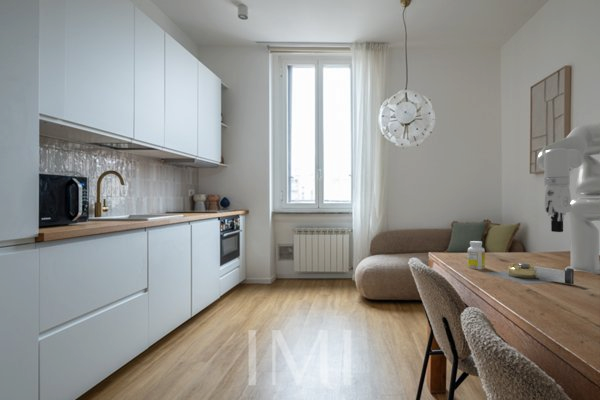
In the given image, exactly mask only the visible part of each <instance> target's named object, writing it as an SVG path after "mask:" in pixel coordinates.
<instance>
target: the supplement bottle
mask: <svg viewBox="0 0 600 400" xmlns="http://www.w3.org/2000/svg"><path fill="white" fill-rule="evenodd" d="M469 245H470V247H468V248H467V269H472V270H485V269H486V259H485V258H486V256H485V255H486V250H485V248H484V247H482V246H483V241H479V240H477V241H476V240H470V241H469Z"/></svg>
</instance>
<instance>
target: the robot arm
mask: <svg viewBox="0 0 600 400" xmlns="http://www.w3.org/2000/svg"><path fill="white" fill-rule="evenodd" d="M593 155H596V156H597V155H600V122H596V123H590V124H584V125H582V124H581V125H579V126H576V127H574V128H573V129H572V130H571V131H570V132H569V134H568V135H566V137H564V138H562V139H560V140H557V141H555V142H552V143H550V144H547V145H545V146H544V147H543V148H542V149H541V151H540V152H538V155H537V158H536V165H537V166H538V168H539V170H542V171H544V173H543V174H544V187H545V192H544V211H545V212H546V213H547V215H548V217H549V218H550V222H551V223H550V224H551V225H550V227H551V228H550V231H551V232H554V233H562V232H564V220H565V216H566V214H567V213H568V216H569V223H570V225H569V227H570V265H568V266H566V267H565V268H571V269H574V271H578V272H582V273H588V274H593V275H600V231H599V229H598V227H597V226H596V225H595V224H594V223H593V222H592V221H600V161H599V160H598V159H596V158H595V157H594V156H593ZM573 169H577V173H576V182H575V193H576V195H577V196H579V198H574V199H571V191H570V186H571V185H570V181H571V180H570V170H573Z"/></svg>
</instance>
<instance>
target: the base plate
mask: <svg viewBox="0 0 600 400" xmlns="http://www.w3.org/2000/svg"><path fill="white" fill-rule="evenodd" d="M482 273H483V274H485V275H490V276H492V277H493V276H494V277H498V278H501V279H505V280H508V281H511V282H515V283H518V284H519V283H520V284H523V285H532V284H544V283H545V284H547V283H558V282H557V281H551V280H546V279H540V278H537V279H525V278H517V277H512V276H510V275H508V270H500V271H486V272H485V271H484V272H482Z"/></svg>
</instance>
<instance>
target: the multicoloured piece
mask: <svg viewBox="0 0 600 400" xmlns="http://www.w3.org/2000/svg"><path fill="white" fill-rule="evenodd" d="M507 271H508V275H510V276H512V277H517V278H525V279H537V278H540V279H546V280H551V281H557V282H556V283H562V284H568V285H574V284H575V270H574V269H571V268H566V267H565V268H564V267H563V270H562V269H556V268H551V267H544V266H537V265H534V266H533V263H529V262H528V263H525V262H518V263H517V265H516V263H515V262H509V263H508V270H507Z"/></svg>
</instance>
